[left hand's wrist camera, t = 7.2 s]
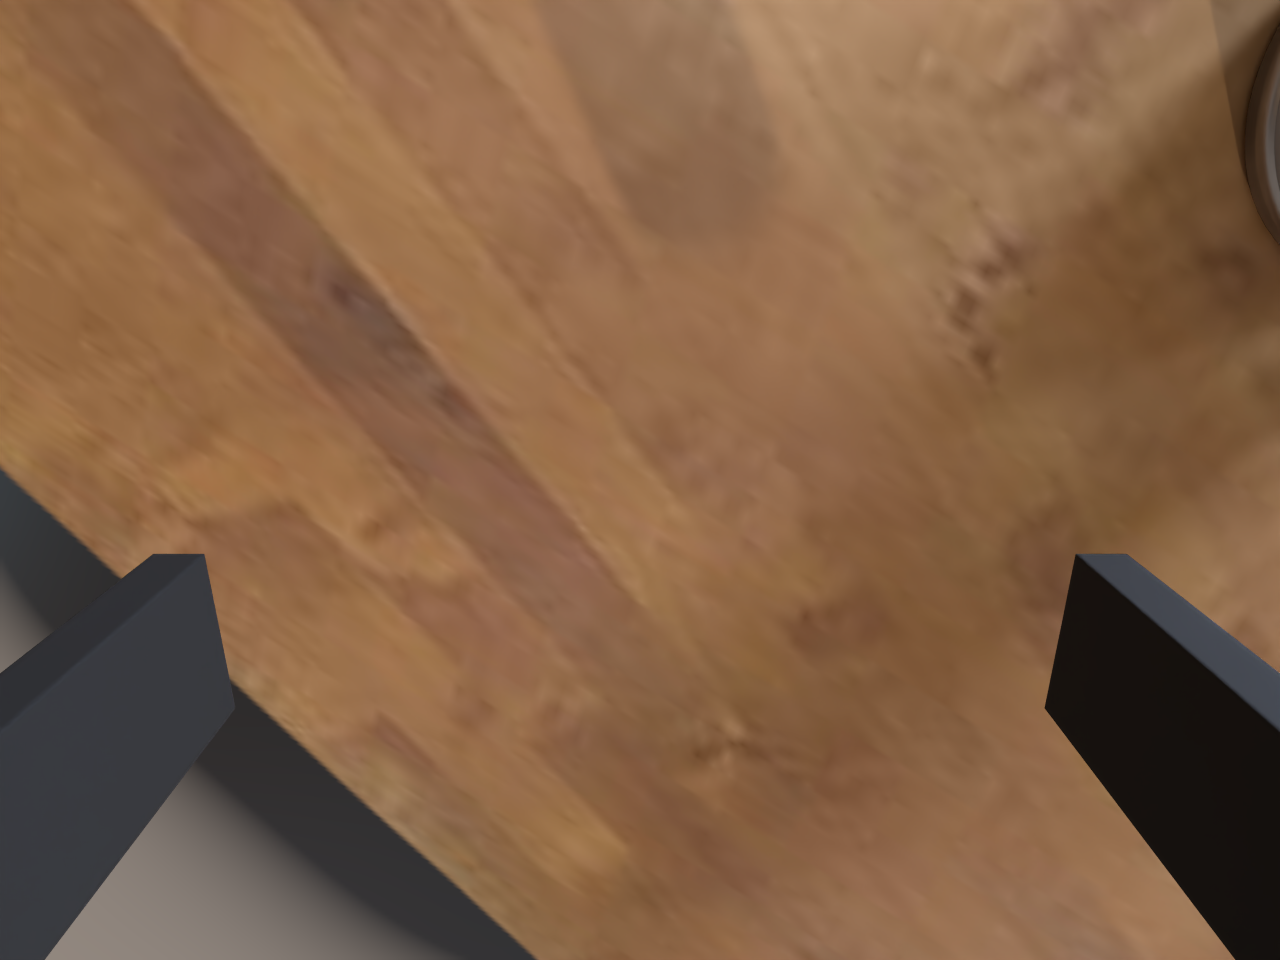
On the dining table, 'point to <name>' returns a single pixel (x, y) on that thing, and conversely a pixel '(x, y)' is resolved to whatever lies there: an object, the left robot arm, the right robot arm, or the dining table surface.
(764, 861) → the dining table surface
